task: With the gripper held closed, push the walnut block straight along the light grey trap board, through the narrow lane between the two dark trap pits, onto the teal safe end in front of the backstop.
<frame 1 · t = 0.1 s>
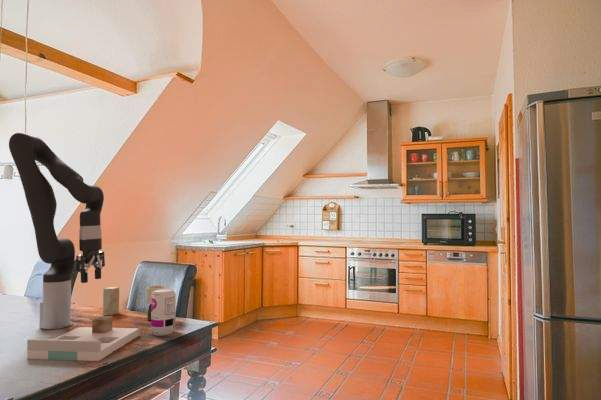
hand: (91, 280, 151), 17 cm above the table, tool pointing down, fingers open, 8 cm apart
supplement can: (163, 333, 143), on the table
walnut block: (102, 331, 136), point 2 cm above the table, touching trap board
character mug: (155, 319, 161), on the table
box: (111, 314, 170), on the table
trap board: (87, 346, 128), on the table
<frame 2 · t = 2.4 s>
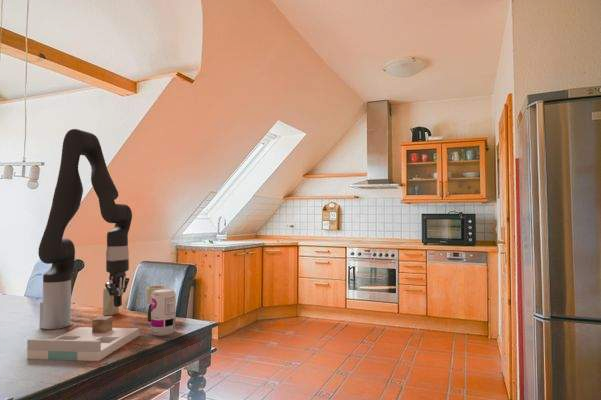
hand: (117, 306, 146), 9 cm above the table, tool pointing down, fingers closed
nothing on the table moved.
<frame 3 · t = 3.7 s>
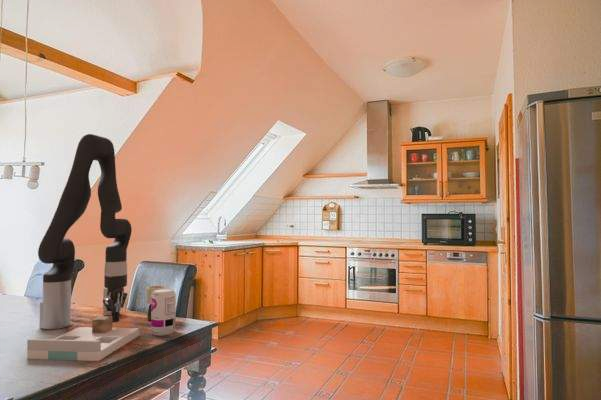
hand: (115, 321, 144), 4 cm above the table, tool pointing down, fingers closed
nothing on the table moved.
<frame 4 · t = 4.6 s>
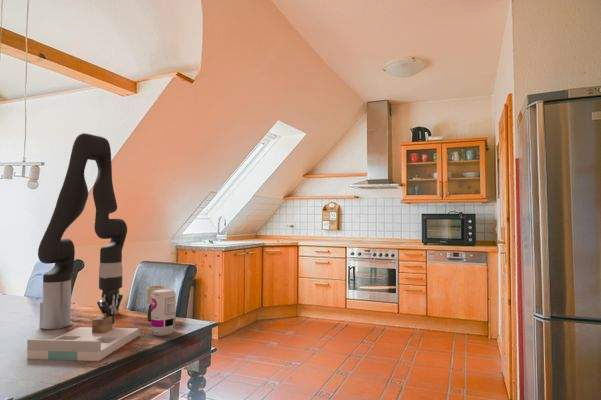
hand: (110, 324, 141), 4 cm above the table, tool pointing down, fingers closed
walnut block: (102, 331, 136), point 3 cm above the table, touching gripper
everything else where it was.
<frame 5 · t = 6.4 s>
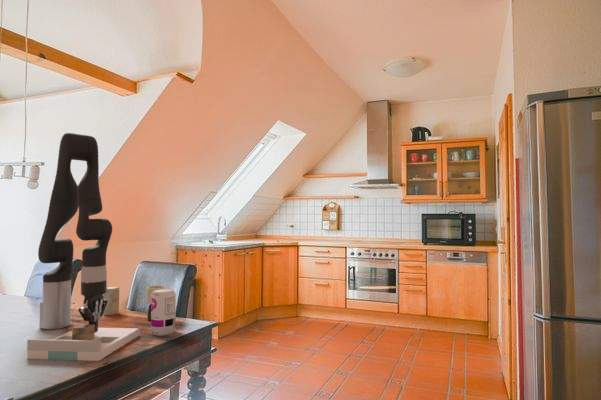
hand: (93, 332, 131), 4 cm above the table, tool pointing down, fingers closed
walnut block: (83, 340, 126), point 3 cm above the table, touching gripper
everything else where it was.
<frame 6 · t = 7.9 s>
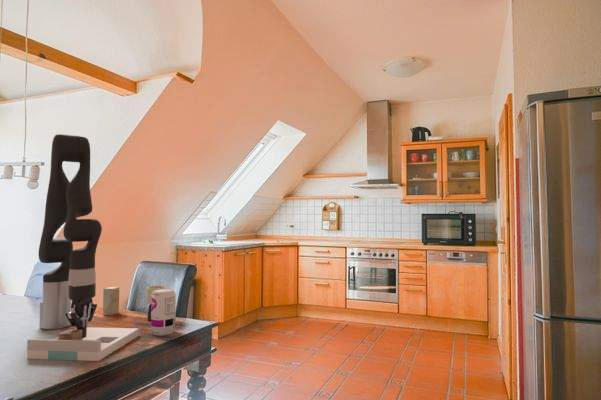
hand: (81, 338, 125), 4 cm above the table, tool pointing down, fingers closed
walnut block: (70, 346, 120), point 2 cm above the table, touching gripper, trap board
everything else where it was.
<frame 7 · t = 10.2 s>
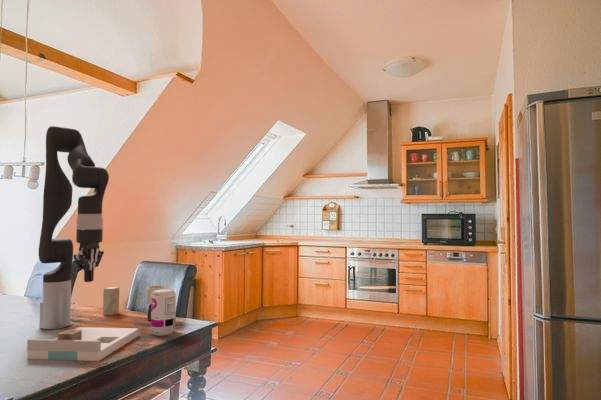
hand: (88, 281, 129), 21 cm above the table, tool pointing down, fingers closed
walnut block: (69, 347, 120), point 2 cm above the table, touching trap board
everything else where it was.
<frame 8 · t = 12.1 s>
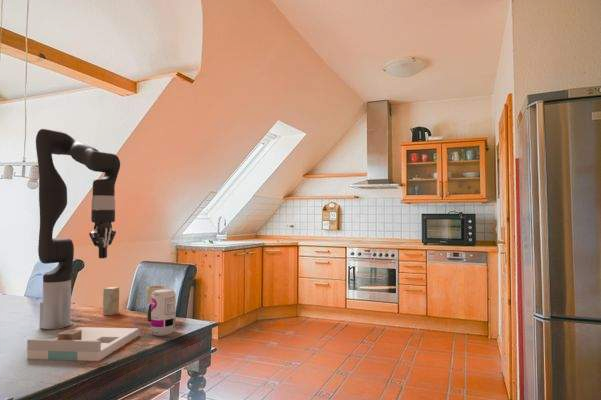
hand: (102, 258, 140), 27 cm above the table, tool pointing down, fingers closed
nothing on the table moved.
at the end: walnut block inside the target area on the trap board (0.8 cm from its centre), point 2.5 cm above the trap board's base; walnut block tilted 0° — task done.
